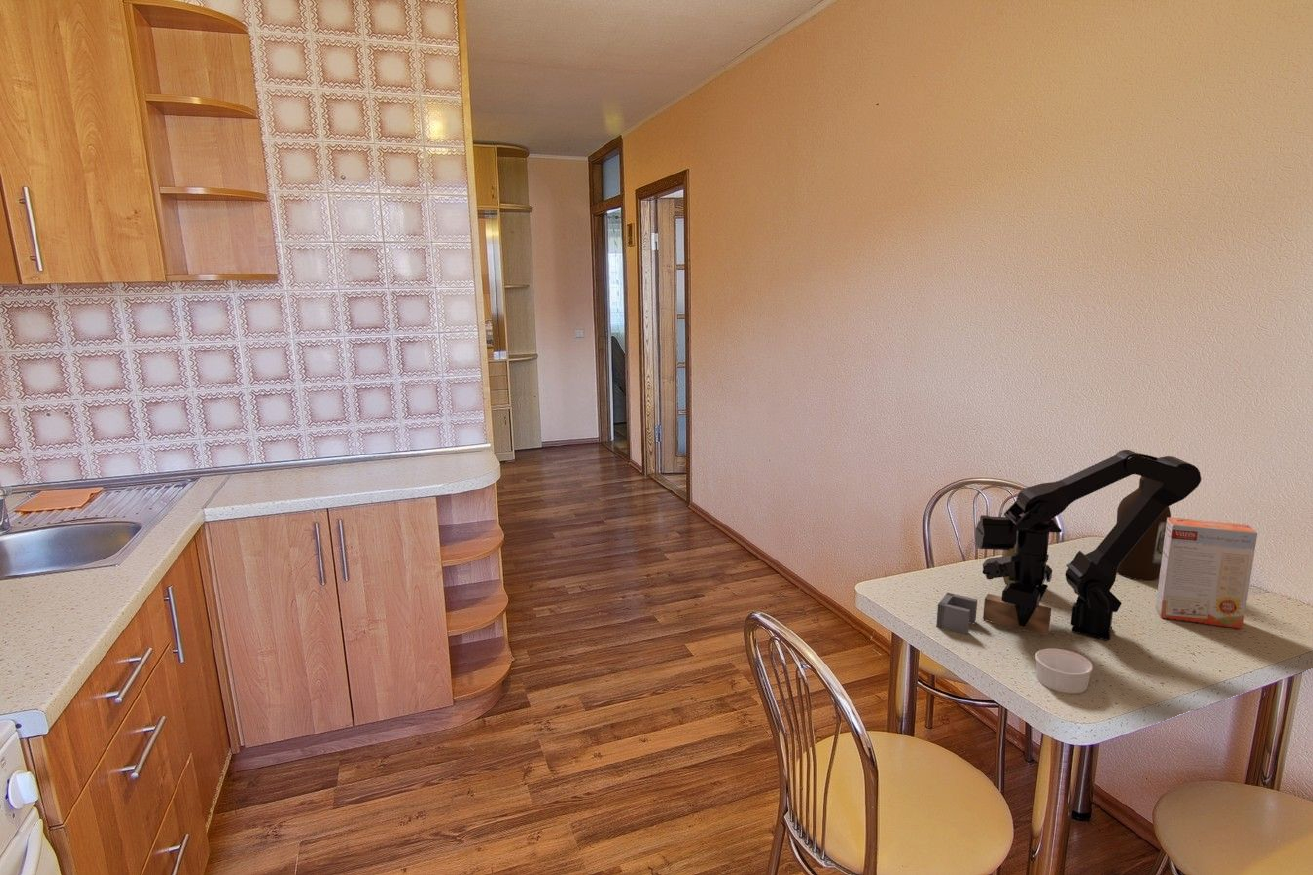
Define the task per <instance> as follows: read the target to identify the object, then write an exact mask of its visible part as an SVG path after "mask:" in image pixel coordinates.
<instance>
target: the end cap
mask: <svg viewBox="0 0 1313 875" xmlns="http://www.w3.org/2000/svg"><path fill="white" fill-rule="evenodd" d="M977 607H978V599H977V598H972V597H968V596H964V595H960V594H955V593H951V592H946V593H945V595H944V596H943V597H942V599H940V601H939V602H938V603H937V612H936V626H935V627H936V628H940V629H944V630H947V629H948V630H947V631H951V630H952V632H954V633H958V632H959V633H958V634H963V635H968V634H969V630H970V628H969V627H970V624H973V623H974V624H975V623H976V622H975V621H976V620H977Z"/></svg>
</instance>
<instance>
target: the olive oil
mask: <svg viewBox="0 0 1313 875" xmlns="http://www.w3.org/2000/svg"><path fill="white" fill-rule="evenodd" d="M1144 479H1145V477H1143V476H1140V478H1139V480H1138V481H1139V483H1138V488H1136V489H1135V490H1134V491H1132V492H1131V493H1129V494H1127V495H1126V496H1124V497H1123V498H1122V499H1121V501H1120V503H1119V504H1118V507H1117V510H1116V523H1117V522H1118V521H1119V520H1120V519H1121V518H1122V516H1123V515H1124V514H1125V513H1126V511H1127V510H1128V509H1129V508H1130V506H1131V505H1132V504H1133V503H1134V502H1135V500H1136V499H1137V498H1138V497H1139V495H1140V494H1141V492H1142V489H1143V484H1144ZM1170 508H1171V507H1170V506H1168V507H1167V508H1166V509H1165V510H1164V511H1163V512H1162V514H1161V515H1160V516H1159V517H1158V518H1157V520H1156V521H1155V522H1154V523H1153V525H1152V526H1151V527H1150V528H1149V529H1148V531H1147V532H1146V533H1145V534H1144V535H1143V537H1142V538H1141V539H1140V540H1139V541H1138V543H1137V544H1136V545H1135V546H1134V547H1133V549H1132V550H1131V551H1130V552H1129V553H1128V555H1127V556H1126V557H1125V558H1124V559H1123V561H1122V562H1121V563H1120V564H1119V566H1118V570H1117V574H1118V573H1119V574H1118V575H1120V574H1121V575H1120V576H1123V575H1124V576H1123V577H1126V576H1127V577H1126V578H1129V577H1131V578H1130V579H1133V578H1136V579H1135V580H1139V579H1143V580H1142V581H1153V580H1152V579H1155V580H1157V579H1159V578H1160V571H1161V563H1162V555H1163V547H1164V539H1165V532H1166V524H1167V518H1168V517H1169V518H1172V512H1171V509H1170ZM1158 577H1159V578H1158ZM1156 578H1157V579H1156Z"/></svg>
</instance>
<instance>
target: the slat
mask: <svg viewBox="0 0 1313 875" xmlns="http://www.w3.org/2000/svg"><path fill="white" fill-rule="evenodd" d="M983 605H984V606H983V615H982V620H983V619H984V620H983V621H986V620H988V621H987V622H990V621H992V622H991V623H994V622H995V623H994V624H999V625H1003V626H1007V627H1012V628H1015V629H1019V630H1023V631H1027V632H1030V633H1035V634H1039V635H1043V636H1048V633H1049V631H1050V625H1051V616H1052V607H1050V606H1044V605H1041V604H1039V605H1038V606H1037V608H1036V609H1035V611H1034V613H1033V614H1032V616H1031V617H1030V619H1029V621H1028V622H1027V624H1026V625H1025V626H1020V625H1019V623H1018V618H1017V613H1016V608H1015V604H1011V603H1007V602H1003V601H1002V595H1001V596H999V595H996V594H991V593H987V594H986V596H985V598H984V604H983Z"/></svg>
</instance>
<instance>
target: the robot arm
mask: <svg viewBox="0 0 1313 875" xmlns="http://www.w3.org/2000/svg"><path fill="white" fill-rule="evenodd" d="M1133 475H1137V476H1140V477H1141V476H1143V477H1145V479H1144V484H1143V489H1142V492H1141V494H1140V495H1139V497H1138V498H1137V499H1136V500H1135V502H1134V503H1133V504H1132V505H1131V506H1130V508H1129V509H1128V510H1127V511H1126V513H1125V514H1124V515H1123V516H1122V518H1121V519H1120V520H1119V521H1118V522H1117V521H1116V524H1115V525H1114V526H1113V528H1111V530H1110V531H1109V532H1108V534H1107V535H1106V536H1105V537H1104V538H1103V539H1102V541H1101V542H1100V543H1099V544H1098V546H1096V548H1095V549H1094V550H1093V551H1090V552H1088V553H1083V552H1082V551H1081V550H1079V551H1078V552H1077V553H1076V554H1075V556H1074V558H1073V559H1072V560H1071V561H1070V562H1069V563H1067V564H1066V567H1067V569H1066V570H1065V573H1064V574H1065V580H1066V582H1067V584H1068V585H1069V586H1070V587H1071V588H1072V589H1073V592H1074V594H1076V595H1077V599H1076V602H1074V603H1073V604H1072V608H1071V616H1070V623H1069V624H1070V625H1071V626H1072V627H1071V632H1073V633H1076V634H1080V635H1085V636H1089V637H1093V638H1097V639H1101V640H1104V641H1105V640H1106V641H1109V640H1110V638H1111V634H1112V632H1113V625H1112V624H1113V623H1112V622H1113V617H1114V616H1113V614H1114V613H1117V612H1118V610H1119V609H1120V607H1121V606H1122V602H1121V600H1120V599H1118V598H1117V597H1116V596H1115V595H1114V594H1113V593H1112V592H1111V590H1112V588H1113V586H1114V584H1115V582H1116V579H1117V575H1118V573H1117V570H1118V566H1119V564H1120V563H1121V562H1122V561H1123V559H1124V558H1125V557H1126V556H1127V555H1128V553H1129V552H1130V551H1131V550H1132V549H1133V547H1134V546H1135V545H1136V544H1137V543H1138V541H1139V540H1140V539H1141V538H1142V537H1143V535H1144V534H1145V533H1146V532H1147V531H1148V529H1149V528H1150V527H1151V526H1152V525H1153V523H1154V522H1155V521H1156V520H1157V518H1158V517H1159V516H1160V515H1161V514H1162V512H1163V511H1164V510H1165V509H1166V508H1167V507H1168V506H1169V507H1170V506H1172V505H1174V504H1177V503H1179V502H1181V501H1182V500H1184V499H1186V498H1187V497H1188V496H1190V495H1191V494H1192V493H1193V492H1194V491H1195V490H1196V489H1197V488H1198V487H1199V486H1200V485H1201V483H1202V480H1203V479H1202V475H1201V472H1200V469H1199V468H1198V467H1197V466H1195V465H1194V464H1192V463H1189V462H1187V461H1184V460H1183V459H1180V458H1178V457H1176V456H1171V455H1166V456H1160V457H1156V456H1153V455H1149V454H1145V453H1140V452H1139V453H1138V452H1135V451H1133V450H1130V449H1123V450H1119V451H1118V452H1116V454H1114V455H1113V456H1110V457H1108V458H1106V459H1103V460H1101V461H1099V462H1097V463H1094V464H1093V465H1091V466H1088V467H1086V468H1084V469H1082V470H1079V471H1077V472H1076V473H1073V474H1070V475H1069V476H1067V477H1065V478H1062V479H1060V480H1057V481H1053V482H1044V483H1043V482H1042V483H1039V484H1036V485H1032V486H1027V487H1026V488H1023V489H1022V490H1020V491H1019V492H1018V494H1017V498H1016V500H1015V501H1014V502H1013V503H1012V505H1010V506H1009V507H1008V509H1007V510H1006V511H1005V512H1004V513H1003V516H990V515H983V514H982V515H980V516H979V518H980V520H978V521H977V524H976V527H975V528H974V530H975V531H974V534H975V536H974V538H975V543H976V544H975V545H976V547H977V549H979V550H991V551H992V550H993V551H995V550H996V551H1003V550H1010V549H1011V548H1014V545H1015V544H1016V548H1015V553H1014V555H1012V556H1005V557H1002V556H998V557H989V558H986V559H985V561H984V562H983V563H982V568H983V569H982V574H983V575H985V578H986V580H993V579H996V578H997V579H998V578H1003V577H1008V576H1009V580H1011V581H1015V582H1014V583H1010V584H1006V585H1005V586H1004V588H1003V590H1002V591H1001V597H1002V601H1003V602H1007V603H1011V604H1015V608H1016V613H1017V618H1018V623H1019V625H1020V626H1025V625H1026V624H1027V622H1028V621H1029V619H1030V617H1031V616H1032V614H1033V613H1034V611H1035V609H1036V608H1037V606H1038V605H1040V603H1041V600H1042V598H1043V596H1044V594H1045V593H1046V591H1047V589H1048V584H1045V582H1047V583H1050V582H1051V580H1052V578H1053V569H1052V568H1051V567H1050V565H1048V564H1047V562H1048V560H1049V557H1050V556H1049V554H1048V549H1049V542H1050V541H1049V539H1050V533H1062V532H1063V530H1062V529H1061V528H1060V526H1058V525H1057V524H1056V522H1055V520H1054V518H1056V517H1058V516H1059V515H1060V514H1062V513H1063V512H1064V511H1065V510H1066V509H1067V508H1068V507H1069V505H1071V504H1072V503H1074V502H1075V501H1077V500H1079V499H1081V498H1083V497H1085V496H1088V495H1090V494H1092V493H1094V492H1097V491H1099V490H1101V489H1104V488H1105V487H1108V486H1110V485H1112V484H1114V483H1118V482H1119V481H1121V480H1123V479H1126V478H1127V477H1130V476H1133ZM1021 514H1024V516H1023V517H1021V516H1020V515H1021Z"/></svg>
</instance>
